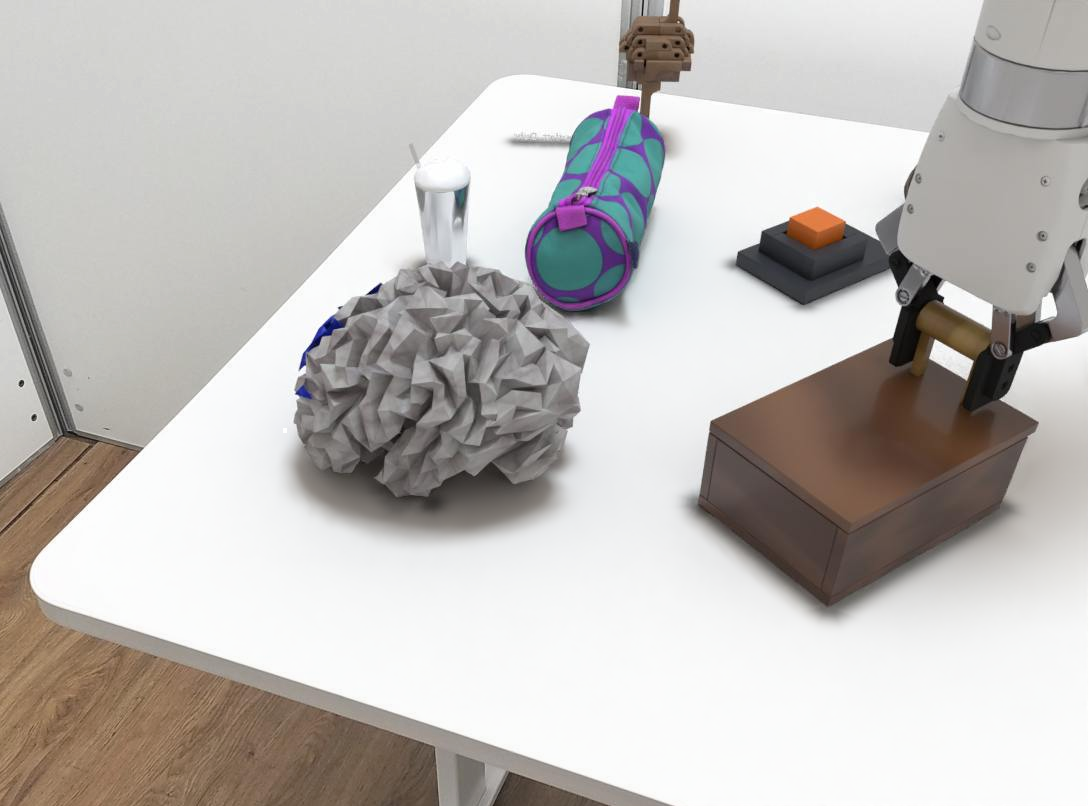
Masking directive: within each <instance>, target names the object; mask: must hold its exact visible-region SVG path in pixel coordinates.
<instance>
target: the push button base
mask: <svg viewBox="0 0 1088 806" xmlns="http://www.w3.org/2000/svg"><path fill="white" fill-rule="evenodd" d="M788 224H789V220H787V221H784V222H782V223H779V224H776V225H773V226H771V227H768V228H765V229H763V230H761V232H760V238H759V242H758V243H756V244H754V245H751V246H748V247H746V248H743V249H740V250H738V251H737V254H736V260H735V261H736V262H735V264H736V266H738V267H740V268H742V269H743V270H745V271H747V272H748V273H750V274H752V275H753V276H755V277H757V278H759V279H760V280H762V281H764V282H765V283H767V284H768V285H770V286H772V287H774V288H775V289H777V290H779V291H780V292H782V293H783V294H785V295H787V296H789V297H791V298H792V299H793V300H796V301H798V302H799V303H801V304H803V305H805V304H808V303H810V302H812V301H815V300H817V299H820V298H822V297H824V296H827V295H829V294H831V293H834V292H836V291H839V290H841V289H843V288H846V287H848V286H850V285H852V284H855V283H857V282H860V281H862V280H864V279H867V278H869V277H872V276H874V275H877V274H879V273H881V272H883V271H886V270H888V269H891V268H890V266H889V254H886V252H885V250H884V248H883V246H882V244H881V242H880V240H879V239H877V238H875V237H873V236H872V235H869V234H868V233H865V232H863V231H862V230H859V229H857V228H855V227H853V226H852V225H850V224H848V223H846V224H845V228H844V233H843V237H842V240H840V241H838V242H835V243H833V244H830V245H828V246H825V247H823V248H820V249H818V250H815V251H814V250H813V249H811V248H809V247H807V246H805V245H804V244H802V243H800V242H798V241H796V240H795V239H793V238H791V237H789V236H787V229H788Z"/></svg>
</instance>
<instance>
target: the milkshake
mask: <svg viewBox="0 0 1088 806" xmlns="http://www.w3.org/2000/svg"><path fill="white" fill-rule="evenodd" d="M408 147H409V150H410V153H411V155H412V158H413V161H414V163H415V166H416V169H417V170H416V171H414V175H413V182H414V188H415V193H416V194H415V195H416V199H417V206H418V212H419V219H420V226H421V234H422V242H423V249H424V256H425V263H426V264H425V265H427V264H430V263H431V264H432V265H433V264H436V263H438V262H441V261H442V262H443V263H444V264H445V265H446V266H447V267H448V268H449V269H450V268H451V267H452V266H453V265H454V264H455V263H456V262H457V261H458V262H460V263H462V264H464V265H466V266H467V253H468V231H469V211H470V210H469V208H470V196H471V195H470V194H471V183H472V181H471V179H472V176H471V171H470V169H469V168H468V167H467V166H466V165H465V164H464V163H462V162H461V161H459V160H457V159H456V158H454V157H447V158H443V159H442V158H441V159H440V158H436V159H433V160H431V161H429V162H426V163H423V164H421V163H420V160H419V157H418V154H417V152H416V149H415V146H414V144H413V143H412V142H411V143H409V144H408Z"/></svg>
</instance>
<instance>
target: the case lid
mask: <svg viewBox="0 0 1088 806" xmlns="http://www.w3.org/2000/svg"><path fill="white" fill-rule="evenodd" d="M916 328H917V329H918V330H920V331H921V335H920V338H919V342H918V345H917V348H916V352H915V355H914V359H913V361H911V362H909V363H907V364H905V365H903V366H901V367H900V366H898V367H895V366H893V365H892V364H890V363H889V358H890V354H891V351H892V347H893V344H894V342H893V337H891V338H889V339H886V340H884V341H882V342H880V343H878V344H875V345H873V346H871V347H869V348H867V349H864V350H862V351H860V352H857V353H856V354H853V355H851V356H849V357H847V358H845V359H843V360H841V361H838V362H836V363H834V364H831V365H830V366H827V367H825V368H822V369H820V370H818V371H817V372H814V373H812V374H810V375H807V376H805V377H803V378H801V379H799V380H797V381H795V382H792V383H790V384H788V385H786V386H784V387H782V388H779V389H777V390H775V391H773V392H771V393H769V394H766V395H764V396H762V397H760V398H757V399H755V400H753V401H751V402H749V403H747V404H745V405H742V406H739V407H738V408H736V409H733V410H730V411H729V412H727V413H725V414H722V415H720V416H718V417H716V418H713V419H712V420H710V421H709V429H708V431H709V432H711V433H712V434H714V435H715V436H716V437H718V438H719V439H721V440H722V441H723V442H725V443H726V444H727V445H729V446H730V447H731V448H733V449H734V450H735V451H737V452H738V453H740V454H741V455H742V456H744V457H745V458H746V459H748V460H749V461H750V462H752V463H753V464H755V465H756V466H757V467H759V468H760V469H761V470H763V471H764V472H765V473H767V474H768V475H769V476H771V477H772V478H774V479H775V480H776V481H778V482H779V483H780V484H782V485H783V486H784V487H786V488H787V489H788V490H790V491H791V492H793V493H794V494H795V495H797V496H798V497H799V498H801V499H802V500H803V501H805V502H806V503H808V504H809V505H810V506H812V507H813V508H814V509H816V510H817V511H818V512H820V513H821V514H822V515H824V516H825V517H827V518H828V519H829V520H831V521H832V522H833V523H835V524H836V525H837V526H839V527H840V528H841V529H843V530H844V531H846V532H847V533H850V532H852V531H854V530H856V529H858V528H860V527H861V526H863V525H865V524H867V523H869V522H871V521H873V520H874V519H876V518H878V517H880V516H882V515H884V514H885V513H887V512H889V511H891V510H893V509H895V508H896V507H898V506H900V505H902V504H904V503H906V502H908V501H909V500H911V499H913V498H915V497H917V496H919V495H920V494H922V493H924V492H926V491H928V490H930V489H932V488H933V487H935V486H937V485H939V484H941V483H943V482H944V481H946V480H948V479H950V478H952V477H954V476H956V475H957V474H959V473H961V472H963V471H965V470H967V469H968V468H970V467H972V466H974V465H976V464H978V463H980V462H981V461H983V460H985V459H987V458H989V457H991V456H992V455H994V454H996V453H998V452H1000V451H1002V450H1004V449H1005V448H1007V447H1009V446H1011V445H1013V444H1015V443H1016V442H1018V441H1020V440H1022V439H1024V438H1026V437H1029V436H1031V435H1033V434H1035V433H1036V432H1037V429H1038V426H1039V424H1040V422H1039V421H1038V420H1036V419H1034V418H1033V417H1031V416H1029V415H1027V413H1024V412H1023V411H1021V410H1019V409H1018V408H1015V407H1014V406H1012V405H1010V404H1008V403H1006V401H1003V400H1002V399H999V400H997V401H992V402H990V403H988V404H986V405H984V406H982V407H980V408H978V409H976V410H974V411H972V412H970V411H968V410H967V409H965V408H964V407H963V404H962V401H963V398H964V395H965V392H966V389H967V386H968V383H969V380H970V378H971V375H972V372H973V369H974V366H975V363H976V360H977V357H978V355H979V354H980V352H982V351H984V350H986V349H988V348H990V347H991V328H989V327H987V326H986V325H983V324H982V323H980V322H978V321H976V320H974V319H973V318H971V317H969V316H967V315H966V314H964V313H962V312H960V311H958V310H956V309H955V308H953V307H950V305H949V306H948V305H947V304H945V303H944V304H943V303H941V302H939V301H937V300H933V301H930V302H929V303H927V304H926V305H925V306H924V307H923V309H922V310H921V311H920V313H919V315H918V317H917V320H916ZM935 341H937V342H939V343H941V344H942V345H945V346H946V347H948V348H949V349H952V350H953V351H955V352H957V353H959V354H960V355H962V356H964V357H965V358H968V359H969V360H971V361H972V365H971V368H970V370H969V373H968V376H967V379H966V378H964V377H962V376H961V375H958V373H955V372H954V371H953V370H952V371H951V370H950V369H948V368H946V367H945V366H943V365H941V364H940V363H938V362H936V361H934V360H932V359H931V358H930V357H931V355H932V350H933V347H934V344H935Z"/></svg>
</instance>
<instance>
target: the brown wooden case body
mask: <svg viewBox="0 0 1088 806" xmlns="http://www.w3.org/2000/svg"><path fill="white" fill-rule="evenodd" d="M707 435H708V436H707V441H706V449H705V454H704V455H705V456H704V462H703V467H702V474H701V482H700V488H699V495H698V501H697V504H698V505H699V506H701V507H702V508H703V509H704V510H706V511H707V512H708V513H710V514H711V515H712V516H713V517H714V518H716V519H717V520H718V521H719V522H720V523H722V524H723V525H724V526H726V527H727V528H728V529H729V530H731V531H732V532H733V533H734V534H736V535H737V536H738V537H739V538H741V539H742V540H743V541H745V542H746V543H747V544H748V545H749V546H751V547H752V548H753V549H754V550H756V551H757V552H758V553H759V554H761V556H763V557H764V558H766V559H767V560H768V561H769V562H771V563H772V564H773V565H774V566H776V567H777V568H778V569H779V570H781V571H782V572H783V573H784V574H785V575H787V576H788V577H789V578H791V579H792V580H793V581H795V582H796V583H797V584H798V585H799V586H800V587H802V589H805V590H806V591H807V592H808V593H809V594H811V595H812V596H813V597H815V598H816V599H817V600H818V601H819V602H821V603H822V604H823V605H825V606H826V607H827V608H829V607H830V606H832V605H835V604H836V603H837V602H839V601H842V599H844V598H846V597H848V596H850V595H852V594H854V592H856V591H858V590H860V589H862V588H864V587H866V586H867V585H869V584H870V583H872V582H874V581H876V580H877V579H879V578H882V577H883V576H885V575H886V574H889V573H890V572H891V571H893V570H895V569H897V568H899V567H900V566H902V565H904V564H906V563H907V562H910V561H911V560H912V559H914V558H916V557H918V556H919V555H921V554H923V553H925V552H926V551H928V550H930V549H932V548H934V547H936V546H937V545H938V544H941V543H942V542H944V541H946V540H947V539H950V538H951V537H953V536H954V535H956V534H958V533H961V532H962V531H963V530H965V529H966V528H969V527H970V526H972V525H974V524H976V523H977V522H979V521H981V520H982V519H984V518H986V517H988V516H990V515H991V514H994V513H995V512H996V511H998V510H1000V509H1001V507H1002V504H1003V501H1004V498H1005V496H1006V493H1007V491H1008V488H1009V486H1010V484H1011V481H1012V479H1013V476H1014V474H1015V471H1016V469H1017V466H1018V464H1019V461H1020V460H1021V456H1022V453H1023V451H1024V448H1025V446H1026V444H1027V441H1028V439H1029V436H1027V437H1026V438H1024V439H1022V440H1020V441H1018V442H1016V443H1015V444H1013V445H1011V446H1009V447H1007V448H1005V449H1004V450H1002V451H1000V452H998V453H996V454H994V455H992V456H991V457H989V458H987V459H985V460H983V461H981V462H980V463H978V464H976V465H974V466H972V467H970V468H968V469H967V470H965V471H963V472H961V473H959V474H957V475H956V476H954V477H952V478H950V479H948V480H946V481H944V482H943V483H941V484H939V485H937V486H935V487H933V488H932V489H930V490H928V491H926V492H924V493H922V494H920V495H919V496H917V497H915V498H913V499H911V500H909V501H908V502H906V503H904V504H902V505H900V506H898V507H896V508H895V509H893V510H891V511H889V512H887V513H885V514H884V515H882V516H880V517H878V518H876V519H874V520H873V521H871V522H869V523H867V524H865V525H863V526H861V527H860V528H858V529H856V530H854V531H852V532H850V533H847V532H846V531H844V530H843V529H841V528H840V527H839V526H837V525H836V524H835V523H833V522H832V521H831V520H829V519H828V518H827V517H825V516H824V515H822V514H821V513H820V512H818V511H817V510H816V509H814V508H813V507H812V506H810V505H809V504H808V503H806V502H805V501H803V500H802V499H801V498H799V497H798V496H797V495H795V494H794V493H793V492H791V491H790V490H788V489H787V488H786V487H784V486H783V485H782V484H780V483H779V482H778V481H776V480H775V479H774V478H772V477H771V476H769V475H768V474H767V473H765V472H764V471H763V470H761V469H760V468H759V467H757V466H756V465H755V464H753V463H752V462H750V461H749V460H748V459H746V458H745V457H744V456H742V455H741V454H740V453H738V452H737V451H735V450H734V449H733V448H731V447H730V446H729V445H727V444H726V443H725V442H723V441H722V440H721V439H719V438H718V437H716V436H715V435H714V434H712V433H711V432H710V431H709V432H708V434H707Z"/></svg>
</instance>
